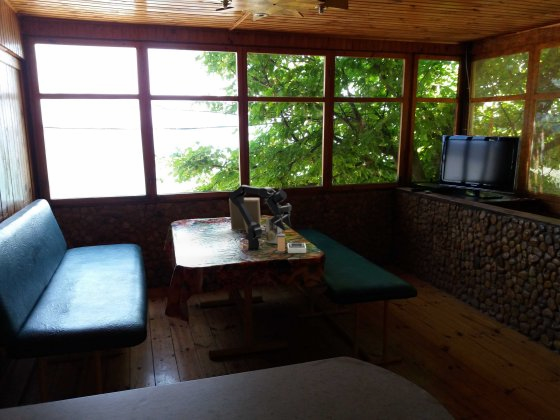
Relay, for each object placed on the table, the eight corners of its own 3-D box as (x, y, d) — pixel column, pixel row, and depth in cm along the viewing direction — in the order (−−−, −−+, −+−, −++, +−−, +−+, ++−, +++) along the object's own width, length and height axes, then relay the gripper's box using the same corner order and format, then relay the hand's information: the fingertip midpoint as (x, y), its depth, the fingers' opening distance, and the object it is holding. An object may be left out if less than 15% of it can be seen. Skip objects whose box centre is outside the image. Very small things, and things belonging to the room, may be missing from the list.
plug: (277, 251, 258) (277, 235, 256) (277, 249, 262) (277, 233, 261) (285, 251, 258) (285, 235, 256) (284, 249, 262) (284, 233, 261)
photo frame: (232, 228, 321) (231, 196, 316) (260, 229, 318) (260, 196, 314) (228, 233, 306) (227, 199, 301) (258, 234, 304) (257, 199, 299)
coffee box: (282, 242, 280) (282, 218, 277) (277, 244, 275) (277, 220, 272) (271, 240, 285) (270, 217, 282) (265, 242, 279) (265, 218, 277)
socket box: (288, 253, 254) (287, 247, 254) (287, 247, 266) (287, 242, 265) (306, 252, 254) (306, 247, 254) (304, 247, 266) (304, 242, 266)
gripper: (278, 202, 239) (293, 225, 238) (290, 196, 256) (303, 218, 255) (263, 212, 244) (278, 235, 243) (276, 205, 261) (289, 227, 260)
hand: (288, 228), depth 250 cm, fingers open, 9 cm apart
